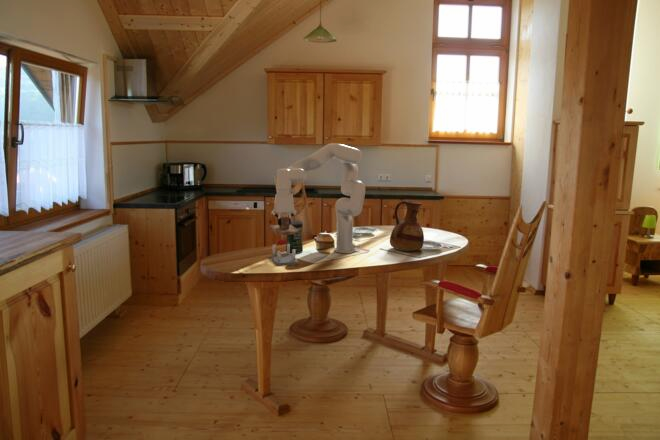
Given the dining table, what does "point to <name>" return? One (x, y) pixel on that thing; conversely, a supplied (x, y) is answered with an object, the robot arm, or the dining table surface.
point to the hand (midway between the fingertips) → (284, 225)
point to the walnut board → (284, 227)
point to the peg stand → (284, 257)
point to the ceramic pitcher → (407, 229)
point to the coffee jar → (295, 238)
